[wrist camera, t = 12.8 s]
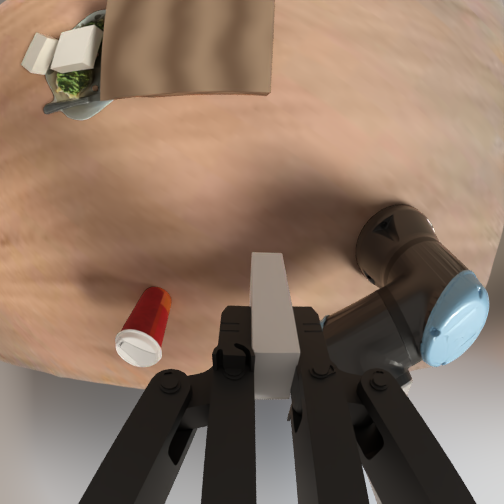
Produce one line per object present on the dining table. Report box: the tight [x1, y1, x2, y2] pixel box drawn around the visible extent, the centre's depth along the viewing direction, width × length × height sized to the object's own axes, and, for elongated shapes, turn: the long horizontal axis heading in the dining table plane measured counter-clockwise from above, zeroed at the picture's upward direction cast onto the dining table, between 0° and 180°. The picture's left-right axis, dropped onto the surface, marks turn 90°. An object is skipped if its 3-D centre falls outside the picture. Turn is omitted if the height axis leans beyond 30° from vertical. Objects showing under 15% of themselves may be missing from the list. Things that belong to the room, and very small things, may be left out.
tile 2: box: [21, 32, 59, 75], centre depth 28 cm, size 6×6×3 cm
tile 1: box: [50, 25, 103, 73], centre depth 27 cm, size 6×6×3 cm
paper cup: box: [115, 287, 171, 367], centre depth 46 cm, size 8×8×14 cm
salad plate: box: [43, 9, 113, 120], centre depth 31 cm, size 19×18×5 cm
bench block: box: [100, 0, 275, 101], centre depth 28 cm, size 20×16×9 cm
